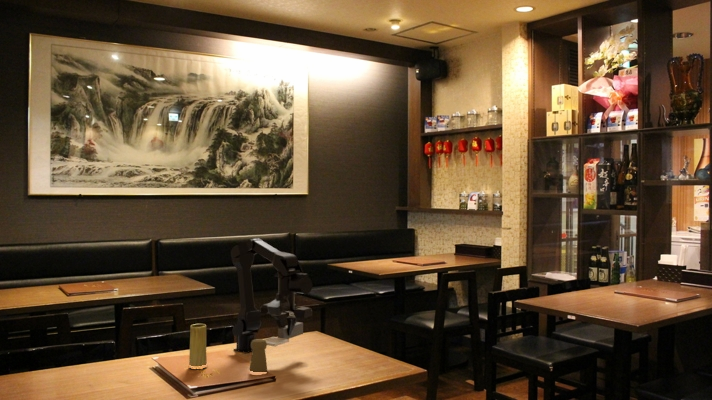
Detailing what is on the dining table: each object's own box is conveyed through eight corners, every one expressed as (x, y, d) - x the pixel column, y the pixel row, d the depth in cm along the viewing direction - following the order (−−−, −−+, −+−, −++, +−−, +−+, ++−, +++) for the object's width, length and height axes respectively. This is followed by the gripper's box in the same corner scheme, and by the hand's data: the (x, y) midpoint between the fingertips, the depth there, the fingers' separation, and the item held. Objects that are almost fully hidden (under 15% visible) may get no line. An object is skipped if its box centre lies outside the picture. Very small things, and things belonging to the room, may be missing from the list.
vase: (184, 368, 200) (185, 326, 200) (196, 364, 205) (196, 322, 205) (199, 371, 197) (200, 328, 197) (210, 366, 203) (211, 324, 203)
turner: (258, 343, 202) (258, 331, 202) (292, 332, 219) (292, 321, 219) (275, 346, 198) (275, 334, 198) (308, 334, 216) (308, 323, 216)
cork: (252, 376, 192) (252, 342, 192) (246, 371, 198) (247, 338, 198) (270, 374, 195) (270, 340, 195) (264, 369, 201) (264, 336, 200)
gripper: (250, 291, 207) (250, 336, 207) (295, 296, 198) (294, 343, 198) (270, 287, 217) (269, 330, 217) (313, 291, 208) (312, 336, 208)
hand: (285, 334), depth 210 cm, fingers closed on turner, 2 cm apart
